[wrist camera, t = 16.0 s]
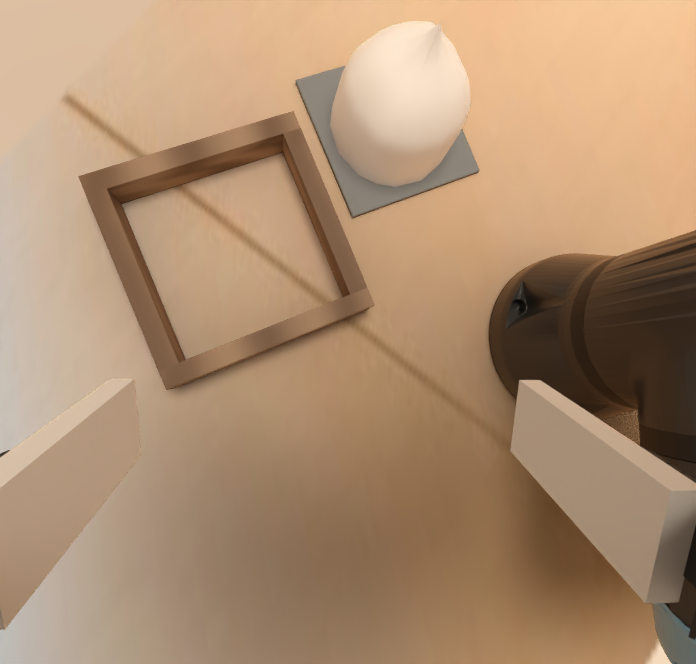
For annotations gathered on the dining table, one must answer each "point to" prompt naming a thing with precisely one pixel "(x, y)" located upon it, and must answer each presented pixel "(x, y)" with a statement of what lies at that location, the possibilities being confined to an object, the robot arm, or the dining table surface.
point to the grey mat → (356, 188)
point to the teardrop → (400, 103)
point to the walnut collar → (195, 163)
